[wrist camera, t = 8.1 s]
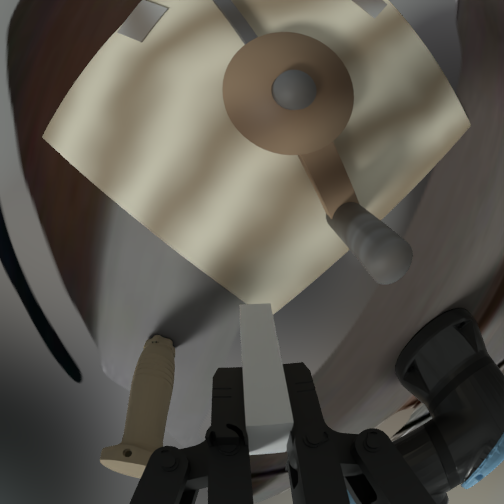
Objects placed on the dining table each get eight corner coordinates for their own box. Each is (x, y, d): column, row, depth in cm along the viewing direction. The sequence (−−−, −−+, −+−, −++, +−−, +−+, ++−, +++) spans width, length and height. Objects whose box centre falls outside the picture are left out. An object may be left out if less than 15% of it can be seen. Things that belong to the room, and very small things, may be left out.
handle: (127, 328, 26) (89, 454, 13) (184, 326, 27) (168, 467, 13) (141, 358, 29) (116, 474, 15) (193, 357, 29) (186, 482, 16)
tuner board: (462, 123, 19) (472, 125, 17) (266, 310, 26) (268, 320, 25) (278, -77, 9) (281, -84, 8) (48, 133, 17) (38, 135, 15)
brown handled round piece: (140, -11, 11) (101, -59, 4) (236, -54, 10) (241, -113, 3) (304, 250, 22) (337, 314, 15) (386, 204, 21) (446, 248, 14)
